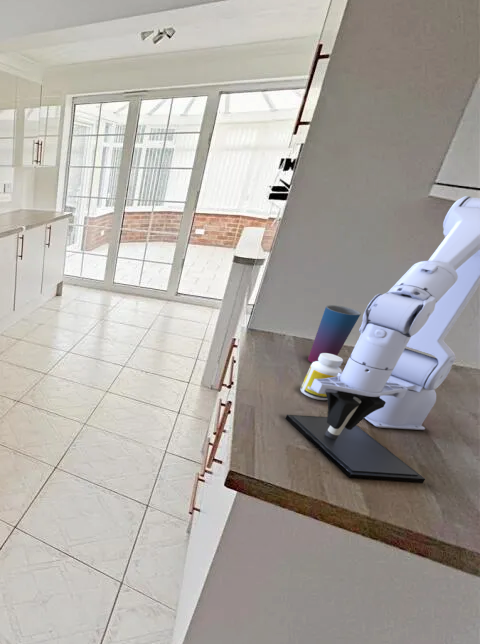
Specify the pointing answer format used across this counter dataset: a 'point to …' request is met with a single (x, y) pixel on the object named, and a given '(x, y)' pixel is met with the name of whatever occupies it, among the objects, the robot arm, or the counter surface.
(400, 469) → the tablet
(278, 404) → the counter surface
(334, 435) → the stylus
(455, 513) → the counter surface
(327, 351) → the cup
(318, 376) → the supplement bottle
